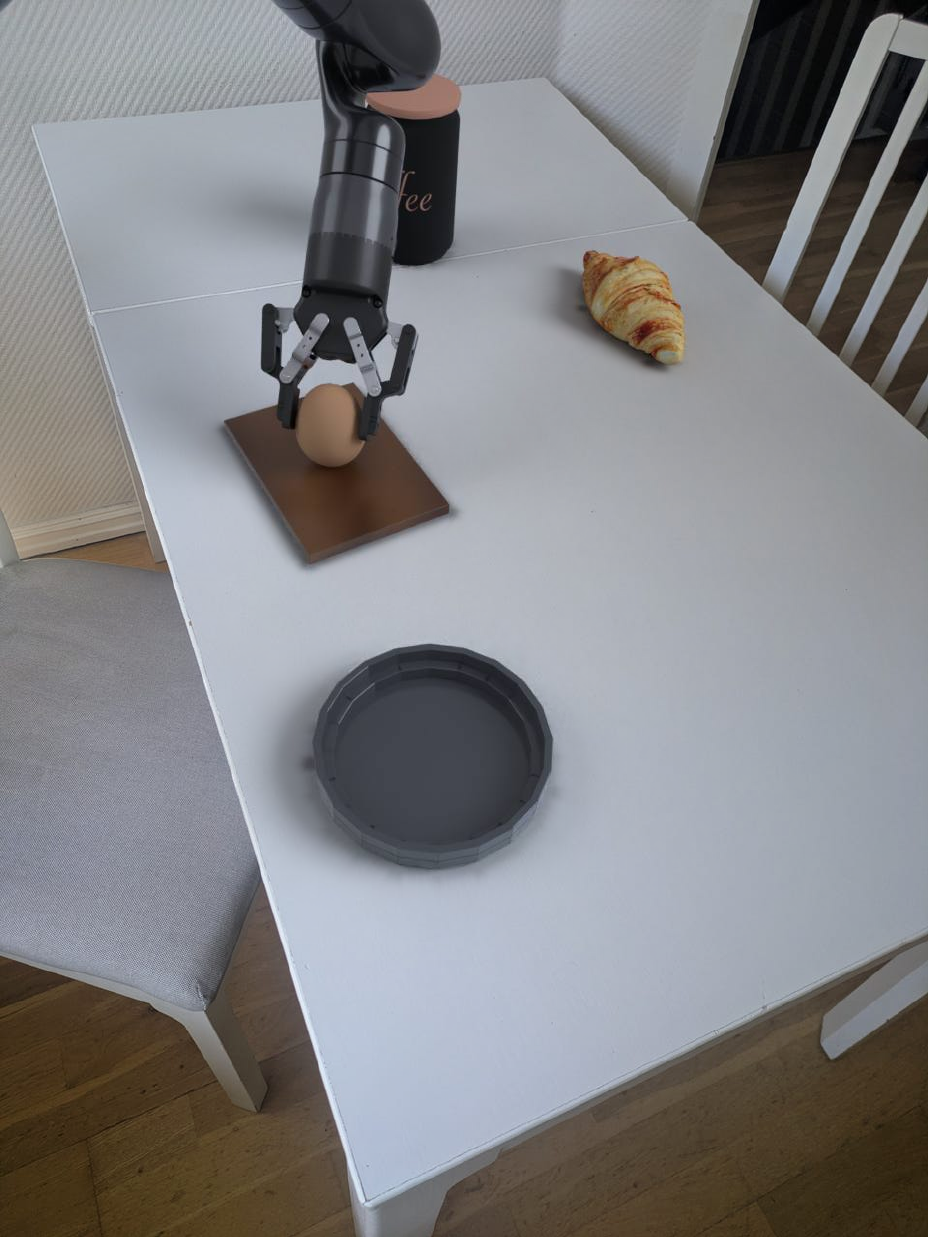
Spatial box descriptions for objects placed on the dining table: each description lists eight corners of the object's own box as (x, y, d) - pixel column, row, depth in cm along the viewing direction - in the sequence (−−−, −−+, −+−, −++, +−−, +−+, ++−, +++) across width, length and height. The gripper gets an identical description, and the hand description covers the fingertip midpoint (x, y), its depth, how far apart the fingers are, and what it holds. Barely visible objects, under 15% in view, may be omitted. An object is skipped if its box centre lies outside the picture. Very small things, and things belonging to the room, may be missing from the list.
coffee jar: (349, 247, 111) (343, 89, 97) (402, 214, 117) (403, 61, 103) (419, 278, 108) (423, 119, 94) (469, 243, 114) (480, 88, 100)
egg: (321, 428, 88) (316, 357, 82) (379, 451, 87) (378, 380, 80) (285, 468, 84) (276, 396, 78) (345, 492, 83) (341, 421, 77)
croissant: (689, 393, 103) (735, 333, 99) (631, 375, 97) (678, 310, 92) (597, 290, 114) (635, 233, 110) (540, 268, 108) (578, 206, 103)
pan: (382, 914, 60) (382, 897, 58) (279, 719, 69) (275, 698, 67) (591, 802, 66) (599, 783, 64) (472, 636, 75) (475, 614, 73)
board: (309, 564, 79) (308, 555, 78) (225, 429, 89) (223, 420, 88) (449, 513, 84) (449, 504, 83) (353, 391, 94) (353, 381, 93)
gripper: (259, 217, 76) (235, 418, 78) (428, 241, 75) (399, 443, 77) (282, 244, 83) (260, 427, 85) (436, 266, 83) (410, 449, 85)
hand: (326, 433), depth 81 cm, fingers closed on egg, 6 cm apart
